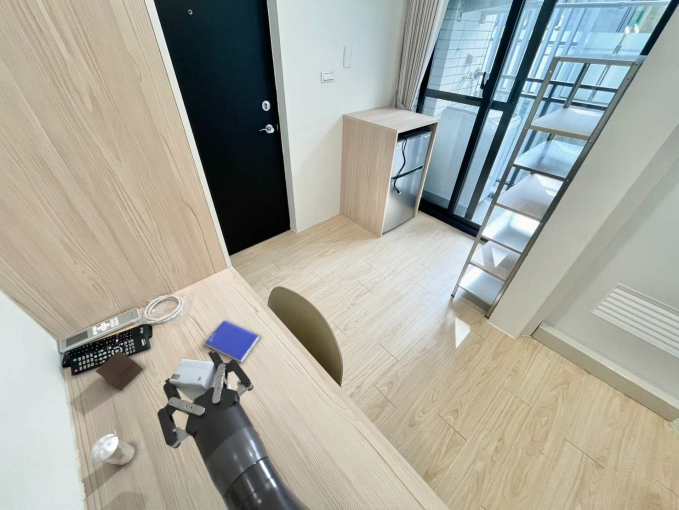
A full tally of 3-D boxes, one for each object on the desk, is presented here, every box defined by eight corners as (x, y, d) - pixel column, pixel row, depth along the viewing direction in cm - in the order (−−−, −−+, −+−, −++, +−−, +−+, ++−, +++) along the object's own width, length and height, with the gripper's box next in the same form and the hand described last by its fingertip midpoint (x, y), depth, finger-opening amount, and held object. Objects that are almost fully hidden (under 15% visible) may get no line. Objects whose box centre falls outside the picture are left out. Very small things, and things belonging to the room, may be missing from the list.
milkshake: (146, 447, 59) (121, 436, 53) (121, 473, 56) (91, 465, 49) (134, 434, 61) (108, 422, 54) (109, 460, 58) (78, 450, 51)
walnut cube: (121, 390, 68) (110, 382, 64) (106, 379, 70) (94, 371, 66) (143, 369, 72) (133, 360, 68) (128, 359, 74) (118, 350, 70)
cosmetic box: (232, 386, 56) (214, 359, 48) (223, 410, 53) (202, 385, 44) (204, 383, 56) (181, 355, 48) (193, 406, 53) (167, 381, 45)
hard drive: (204, 343, 76) (240, 360, 72) (224, 319, 81) (258, 335, 78) (206, 345, 77) (241, 362, 73) (225, 322, 82) (259, 337, 79)
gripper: (270, 405, 41) (222, 332, 50) (171, 488, 34) (136, 386, 43) (277, 419, 46) (233, 351, 55) (193, 494, 39) (157, 402, 48)
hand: (190, 367), depth 49 cm, fingers closed on cosmetic box, 7 cm apart
